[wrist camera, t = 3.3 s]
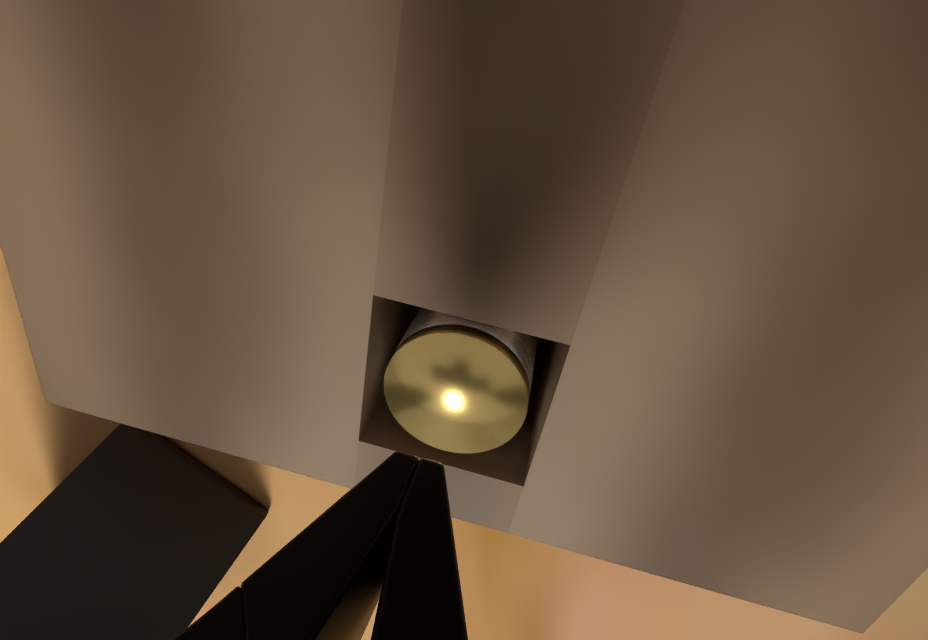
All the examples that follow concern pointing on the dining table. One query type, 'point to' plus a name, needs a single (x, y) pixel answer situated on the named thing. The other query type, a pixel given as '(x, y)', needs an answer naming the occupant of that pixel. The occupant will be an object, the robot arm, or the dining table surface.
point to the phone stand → (123, 545)
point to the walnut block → (506, 256)
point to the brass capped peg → (460, 382)
